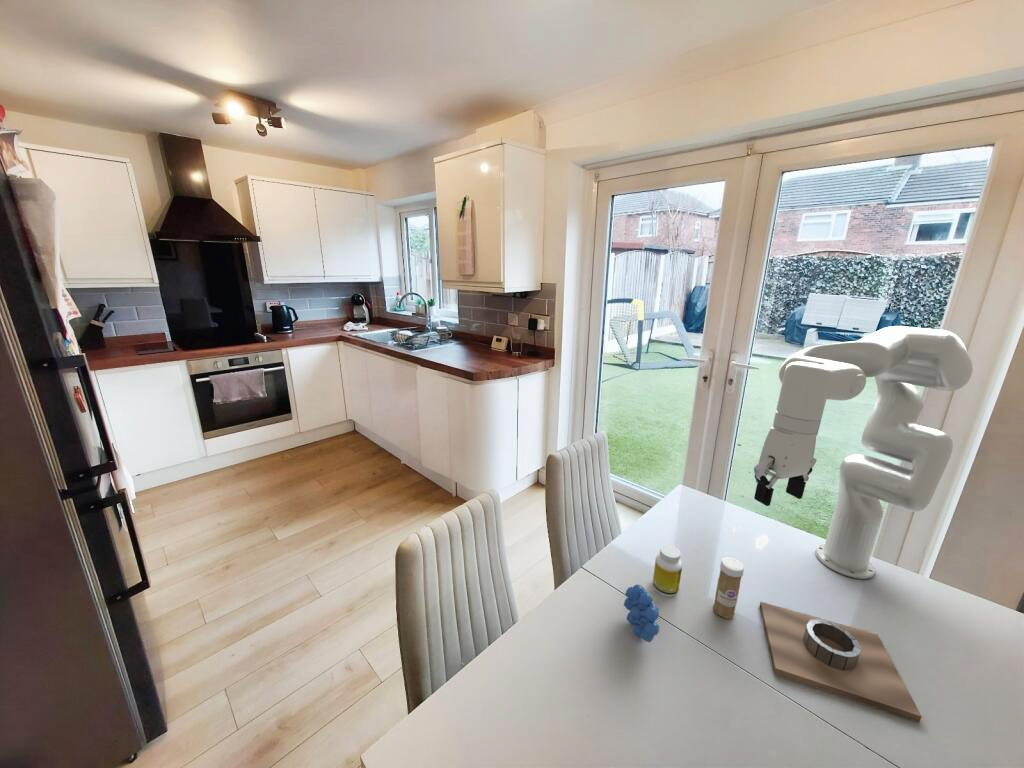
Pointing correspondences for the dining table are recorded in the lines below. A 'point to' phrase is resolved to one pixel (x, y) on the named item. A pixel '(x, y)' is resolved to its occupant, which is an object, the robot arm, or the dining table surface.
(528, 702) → the dining table surface
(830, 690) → the socket board
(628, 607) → the grapes
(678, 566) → the pill bottle
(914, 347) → the robot arm
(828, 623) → the collar
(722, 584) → the sprinkles bottle
